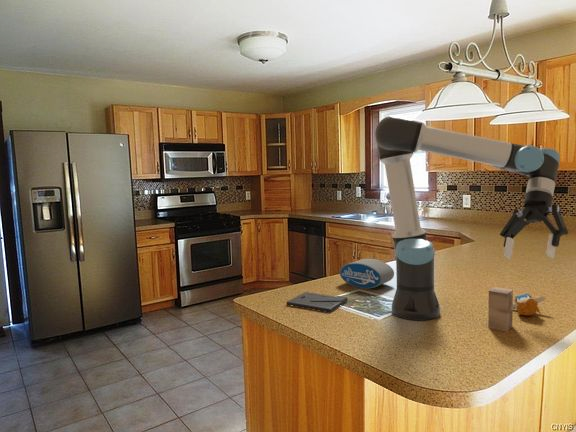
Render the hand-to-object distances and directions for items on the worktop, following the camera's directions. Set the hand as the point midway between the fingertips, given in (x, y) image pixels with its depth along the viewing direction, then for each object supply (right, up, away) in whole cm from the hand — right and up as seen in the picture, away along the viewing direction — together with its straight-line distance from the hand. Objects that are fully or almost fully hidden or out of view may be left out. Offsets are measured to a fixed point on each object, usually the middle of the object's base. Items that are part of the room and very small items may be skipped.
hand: (527, 257), depth 125 cm
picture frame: (-62, -20, +24) cm, 69 cm away
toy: (+3, -18, +7) cm, 20 cm away
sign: (-40, -16, +44) cm, 62 cm away
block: (-11, -20, -5) cm, 23 cm away
